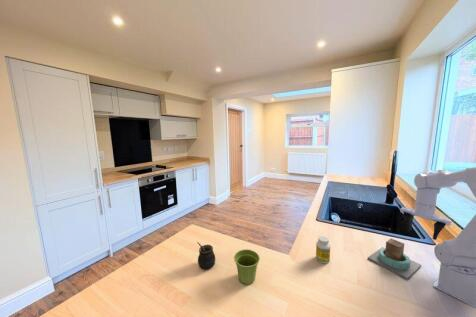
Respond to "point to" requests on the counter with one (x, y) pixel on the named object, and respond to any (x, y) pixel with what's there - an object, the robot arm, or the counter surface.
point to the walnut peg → (394, 250)
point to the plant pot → (246, 265)
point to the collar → (395, 264)
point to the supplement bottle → (323, 250)
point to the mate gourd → (206, 257)
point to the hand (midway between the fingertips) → (421, 234)
